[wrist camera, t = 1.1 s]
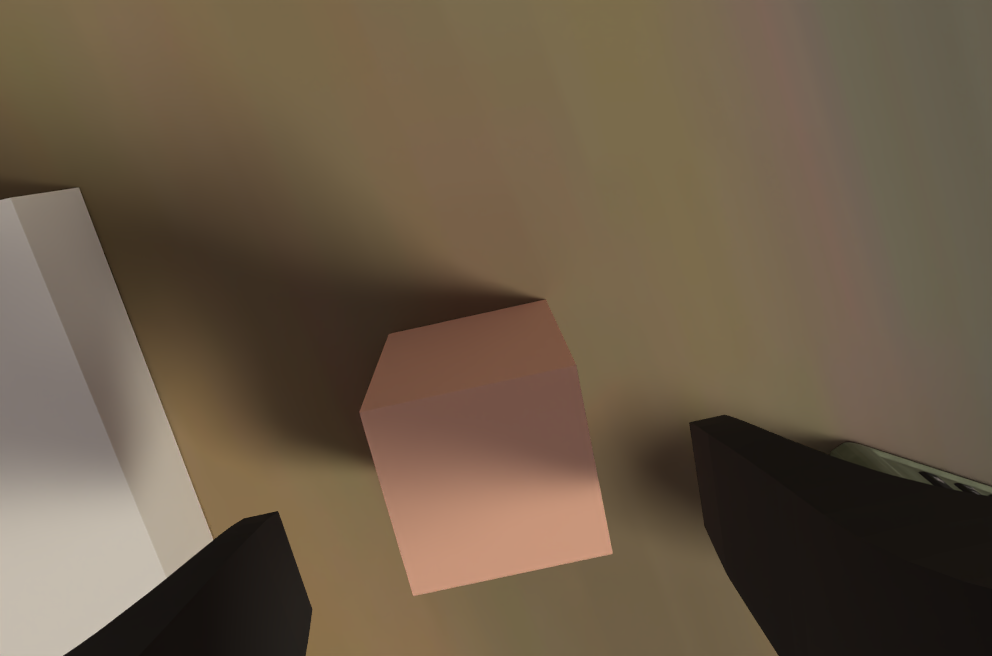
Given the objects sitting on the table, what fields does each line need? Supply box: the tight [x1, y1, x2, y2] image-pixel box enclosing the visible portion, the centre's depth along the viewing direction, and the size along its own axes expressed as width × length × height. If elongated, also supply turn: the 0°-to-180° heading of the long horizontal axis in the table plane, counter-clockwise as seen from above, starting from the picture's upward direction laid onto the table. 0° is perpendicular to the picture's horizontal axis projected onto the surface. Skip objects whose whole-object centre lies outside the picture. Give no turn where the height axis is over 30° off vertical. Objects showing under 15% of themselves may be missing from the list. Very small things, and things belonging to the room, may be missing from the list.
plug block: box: [359, 299, 613, 596], centre depth 15 cm, size 4×4×5 cm
